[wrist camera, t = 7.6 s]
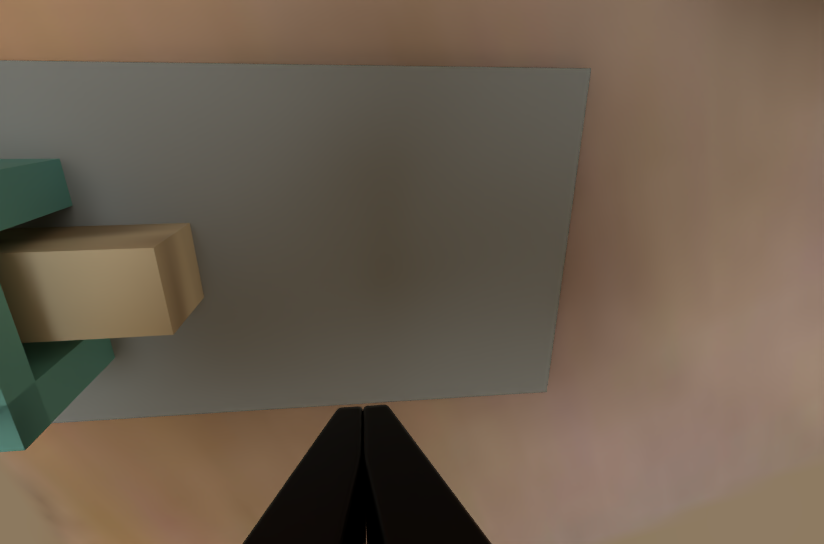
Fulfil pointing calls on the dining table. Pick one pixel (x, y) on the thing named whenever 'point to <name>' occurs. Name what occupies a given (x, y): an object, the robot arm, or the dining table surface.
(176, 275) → the long wooden beam
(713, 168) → the dining table surface
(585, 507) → the dining table surface
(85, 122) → the mat
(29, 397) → the teal faceted block
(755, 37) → the dining table surface
